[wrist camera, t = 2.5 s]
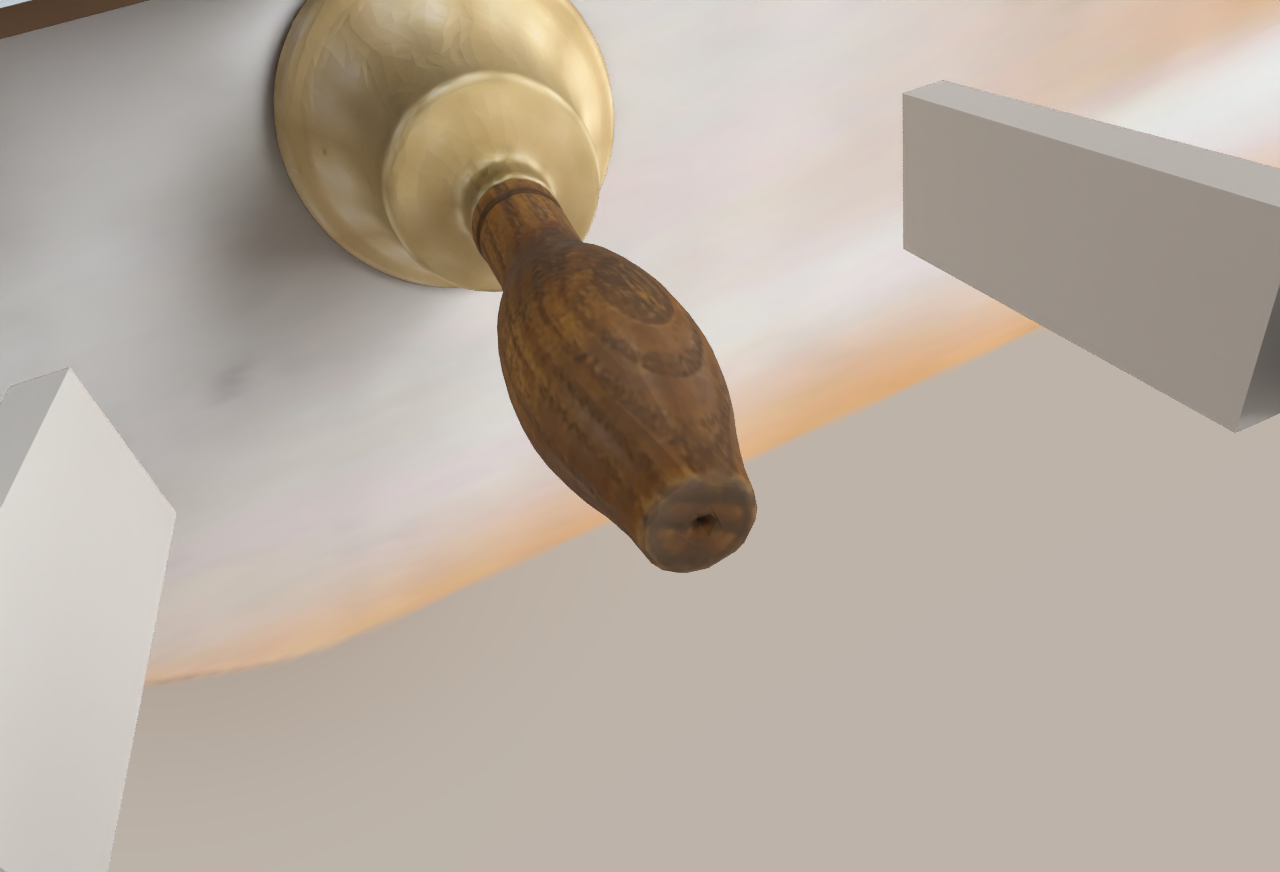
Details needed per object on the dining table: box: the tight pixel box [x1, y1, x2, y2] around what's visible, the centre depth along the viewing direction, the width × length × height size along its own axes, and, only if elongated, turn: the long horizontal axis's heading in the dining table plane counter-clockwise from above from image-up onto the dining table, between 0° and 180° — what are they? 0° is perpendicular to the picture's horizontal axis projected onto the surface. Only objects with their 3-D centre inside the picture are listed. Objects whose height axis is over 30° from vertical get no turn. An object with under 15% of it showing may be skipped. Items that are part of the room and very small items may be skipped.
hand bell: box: [274, 0, 757, 573], centre depth 14 cm, size 8×8×16 cm
